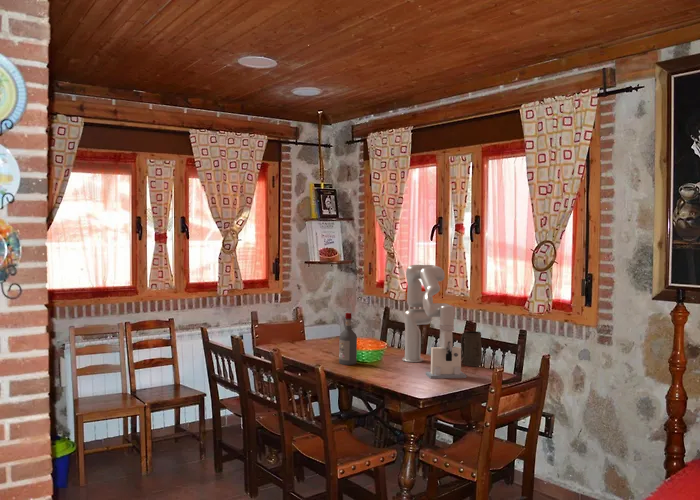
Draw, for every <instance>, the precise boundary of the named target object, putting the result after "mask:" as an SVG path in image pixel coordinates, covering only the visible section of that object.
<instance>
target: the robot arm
mask: <svg viewBox="0 0 700 500" xmlns="http://www.w3.org/2000/svg"><path fill="white" fill-rule="evenodd" d="M445 275H446V274H445V271H444V269H443V268H442V267H441V266H438V265H433V264H411V265H409V266H408V267H407V268H406V271H405V277H406V282H407V292H406V296H407V297H406V302H407V305H408V306H409V307H410V309H407V310H405V312H404V313H403V320H404V328H405V329H404V331H405V332H404V356H403V357H402V361H403V362H406V363H421V362H423V361H424V360H423V358H422V357H421V344H422V343H421V340H422V339H421V338H422V336H421V335H422V333H421V329H420V328H419V326H418V325H429V324H430V323H432V320H433V318H439V339H438V340H439V341H438V342H439V343H438V345H439V346H438V347H441V348H442V349H444V350H445V349H446V353H447V354H446V361H452V347H454V345H453V332H454V330H455V325H454V324H455V323H454V322H455V307H454V305H452V304H451V305H450V304H448V303H438V302H437V303H435V302H434V299H433V296H435V295H437V294H438V293H439V292H440V291H441V286H440V284H439V282H442V281H444V279H445ZM420 280H421V281H420ZM421 282H422V283H421ZM422 285H423V286H422ZM422 287H424V290H425V291H422V289H423V288H422Z"/></svg>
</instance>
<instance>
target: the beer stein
mask: <svg viewBox="0 0 700 500" xmlns="http://www.w3.org/2000/svg"><path fill="white" fill-rule="evenodd" d="M460 348H461V358H463V364H462V365H464V366H467V367H480V366H482V358H483V357H482V355H483V354H482V348H483V347H482V332H480V331H474V330H467V331H465V332H463V333H461V338H460Z"/></svg>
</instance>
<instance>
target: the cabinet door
mask: <svg viewBox="0 0 700 500" xmlns="http://www.w3.org/2000/svg"><path fill="white" fill-rule="evenodd" d="M446 354H447V353H446V349H445V350H444V349H442V348H441V347H440V346H437V347H434V346H433V347H432V346H431V347H430V372H431V374H435V367H441V372H440V374H454V367H460V374H461V372H462V370H461V369H462V349H461V346H459V347H458V346H457V347H456V346H453V347H452V361H446Z"/></svg>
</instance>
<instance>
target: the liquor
mask: <svg viewBox="0 0 700 500" xmlns="http://www.w3.org/2000/svg"><path fill="white" fill-rule="evenodd" d="M352 315H353V314H352V312H345V316H344V317H345V326H344V327H345V328H344V329H343V331H342V332H341V333H340V335H339V337H338V339H339V341H338V342H339V343H338V344H339V345H338V346H339V349H338V350H339V351H338V363H339V364H340V365H344V366H352V365H356V364H357V362H358V361H357V356H358V355H357V354H358V351H357V349H358V336H357V334H356V333H355V331H354V330H353V327H352V317H353V316H352Z"/></svg>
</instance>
